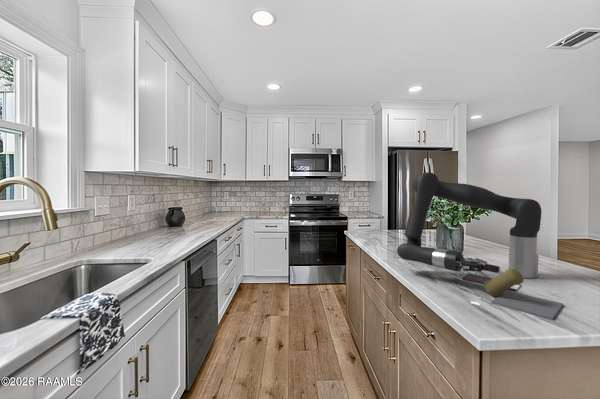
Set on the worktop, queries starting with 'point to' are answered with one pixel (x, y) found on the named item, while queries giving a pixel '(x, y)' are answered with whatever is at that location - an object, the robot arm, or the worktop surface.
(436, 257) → the robot arm
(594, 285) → the worktop surface
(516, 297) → the mat
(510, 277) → the cork
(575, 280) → the worktop surface
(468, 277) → the chocolate bar
